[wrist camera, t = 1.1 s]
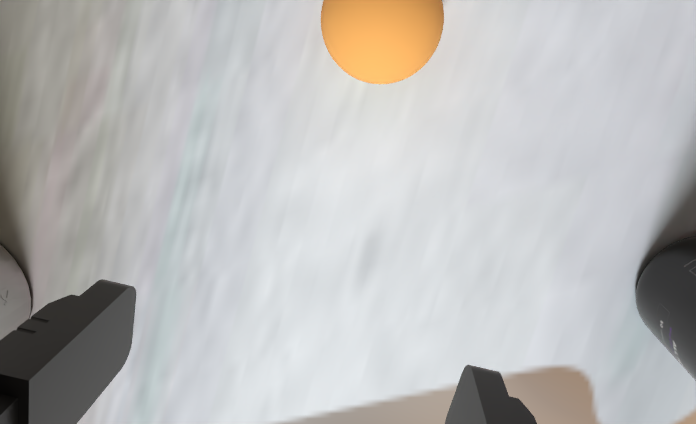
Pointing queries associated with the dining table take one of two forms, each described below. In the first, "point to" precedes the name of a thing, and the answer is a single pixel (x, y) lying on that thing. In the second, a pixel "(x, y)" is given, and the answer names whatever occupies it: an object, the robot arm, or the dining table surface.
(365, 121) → the dining table surface
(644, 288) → the supplement bottle
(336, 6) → the ball
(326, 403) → the dining table surface
